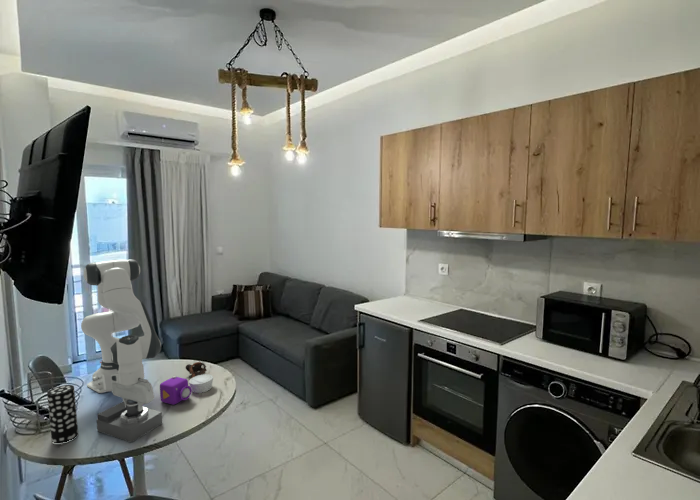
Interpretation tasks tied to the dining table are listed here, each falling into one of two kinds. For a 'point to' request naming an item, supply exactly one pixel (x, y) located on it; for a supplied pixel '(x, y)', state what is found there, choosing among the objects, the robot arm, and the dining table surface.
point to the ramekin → (201, 383)
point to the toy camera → (174, 390)
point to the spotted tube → (62, 413)
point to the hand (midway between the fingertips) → (134, 408)
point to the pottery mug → (196, 369)
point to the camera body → (127, 422)
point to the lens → (132, 408)
